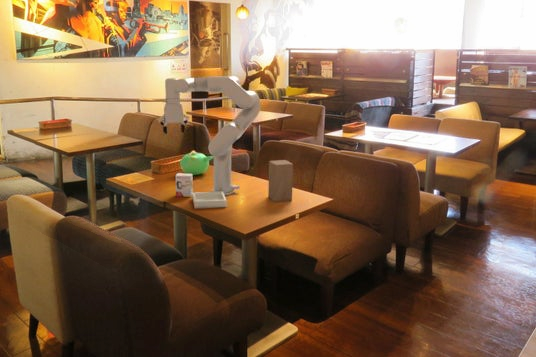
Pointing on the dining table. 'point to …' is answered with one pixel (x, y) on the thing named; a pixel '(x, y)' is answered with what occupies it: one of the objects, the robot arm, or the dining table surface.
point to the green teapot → (195, 163)
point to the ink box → (184, 185)
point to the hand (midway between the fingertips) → (174, 132)
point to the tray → (209, 199)
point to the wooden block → (280, 180)
